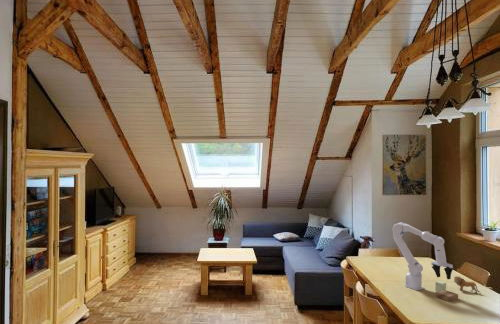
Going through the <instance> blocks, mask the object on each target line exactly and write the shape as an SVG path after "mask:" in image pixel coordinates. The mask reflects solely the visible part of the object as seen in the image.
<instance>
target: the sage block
mask: <svg viewBox="0 0 500 324" xmlns="http://www.w3.org/2000/svg"><path fill="white" fill-rule="evenodd" d="M434 286H435V287H434V288H435V289H434V290H435V292H437V291H441V290H447V282H445V281H442V280H437V281H435V285H434Z"/></svg>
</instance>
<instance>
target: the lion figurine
mask: <svg viewBox="0 0 500 324" xmlns="http://www.w3.org/2000/svg"><path fill="white" fill-rule="evenodd" d="M453 282H454V283H455V284H456V285H457V286H459V291H460V292H463V290H464V287H465V288H469V287H470V288H471V289H470V292H473V291H474V294H478V293H480V290H478V286H477V284H476V283H475V282H474V281H468V280H465V279H464V278H462V277H461V276H458V275H456V276H454V278H453Z"/></svg>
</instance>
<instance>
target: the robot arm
mask: <svg viewBox="0 0 500 324" xmlns="http://www.w3.org/2000/svg"><path fill="white" fill-rule="evenodd" d="M391 231H392V238H393V240H394V242H395V244H396V246H397V247H398V250H399V251H400V252H401V254H402V255H403V257H404V259H405V261H406V262H407V263H406V264H407V267H408V272H407V273H406V275H405V285H404V286H405V287H406V288H409V289H412V290H415V291H419V290H424V289H425V287H424V286H423V285H422V282H423V281H422V279H423V278H422V277H423V276H422V275H423V274H422V272H423V268H424V267H423V266H422V264H421V263H420V262H419V261H418V260H417V259H416V258H415V257H414V255H413V254H412V252H411V250H410V249H409V247H408V246H407V243H406V242H405V241H404V239H403V235H404V233H407V232H409V233H411V234H413V235H416V236H419V237H420V238H421V239H422V240H423V241H425V242H428V243H429V244H431V245H433V246H434V255H435V261H431V263H430V264H431V268H432V269H433V272H434V273H435V276H436V277H437V278H441V267H442V268H443V270H444V271H445V275H446V280H451V276H452V272H453V270H454V266H453V264H451V263H448V262H447V256H446V250H445V239H444V238H443V237H442V236H438V235H434V234H433V233H430V231H421V230H420V229H418V228H416V227H414V226H413V225H412V226H411V225H410V224H408V223H405V222H403V221H400V222H398V223H394V224H393V226H392V228H391Z"/></svg>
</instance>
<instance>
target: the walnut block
mask: <svg viewBox="0 0 500 324" xmlns="http://www.w3.org/2000/svg"><path fill="white" fill-rule="evenodd" d="M434 295H435V298H437V299H440V300H443V301H445V302H448V303H450V302H454V301H458V300H459V294H458V293H455V292H452V291H449V290H447V289H446V290H441V291H435V293H434Z"/></svg>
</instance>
